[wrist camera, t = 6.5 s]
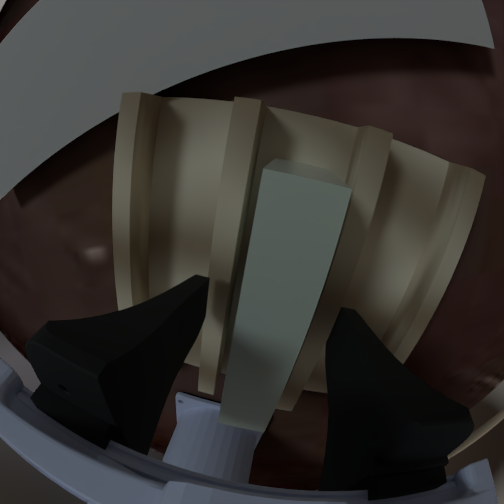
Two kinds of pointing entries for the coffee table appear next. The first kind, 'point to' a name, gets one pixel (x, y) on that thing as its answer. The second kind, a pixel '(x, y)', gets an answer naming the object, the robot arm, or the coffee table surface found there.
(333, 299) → the ribbed tan slab
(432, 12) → the grey rectangular block
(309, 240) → the clay strip
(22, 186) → the coffee table surface
